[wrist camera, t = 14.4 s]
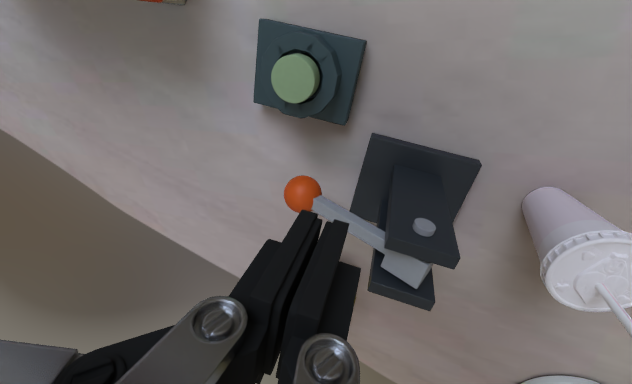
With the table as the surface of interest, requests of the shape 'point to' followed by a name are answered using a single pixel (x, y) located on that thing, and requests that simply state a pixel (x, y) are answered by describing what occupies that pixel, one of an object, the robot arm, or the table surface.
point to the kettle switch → (354, 228)
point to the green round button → (295, 78)
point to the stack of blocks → (167, 1)
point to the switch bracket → (412, 209)
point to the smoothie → (580, 254)
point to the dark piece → (331, 59)
